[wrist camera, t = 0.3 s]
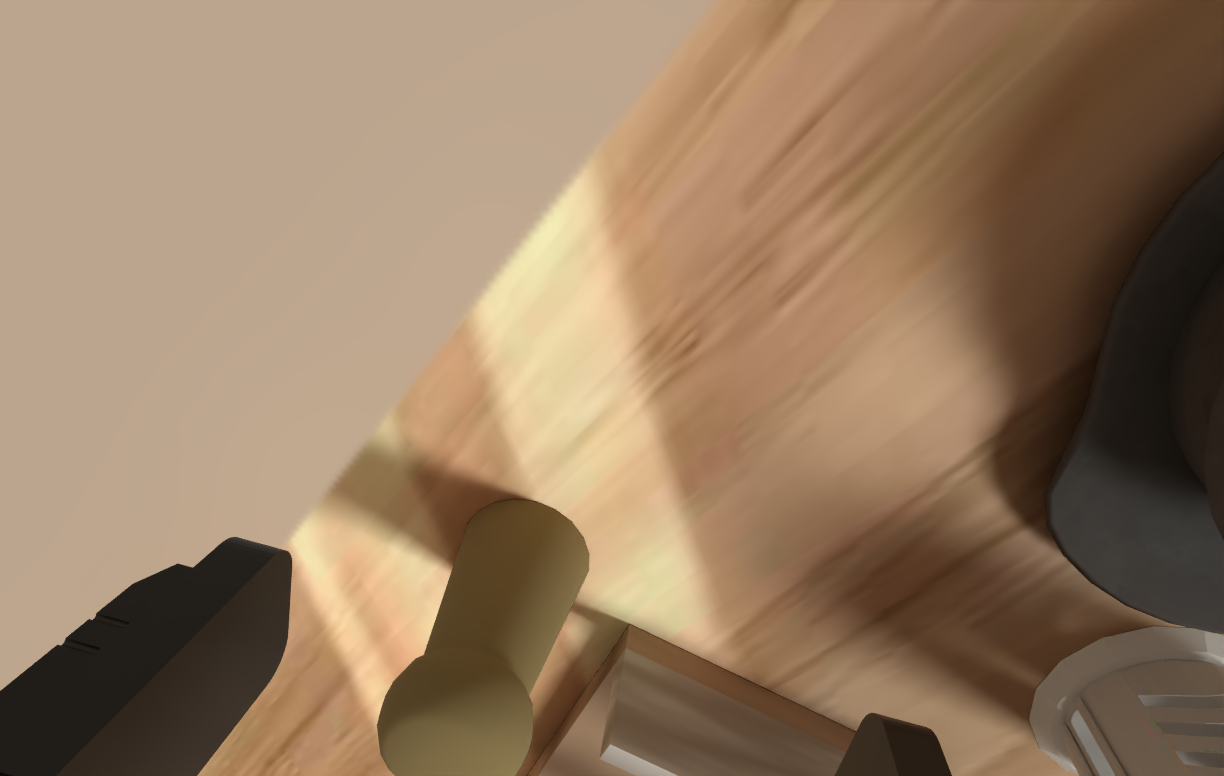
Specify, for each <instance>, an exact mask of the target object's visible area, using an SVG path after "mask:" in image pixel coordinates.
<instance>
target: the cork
mask: <svg viewBox="0 0 1224 776" xmlns="http://www.w3.org/2000/svg"><path fill="white" fill-rule="evenodd" d="M588 571H589V552H588V549H587V546H586V543H585V540H584V537H583V536H582V535H581V533H580V532H579V531H578V529H577V528H576V527H575V525H574V524H573V523H572V522H571V521H570V520H569V519H567V518H566V517H565V516H563V515H562V514H561V513H559V512H558V511H557V510H555V509H553V508H550V507H548V506H545V505H543V504H540V503H538V502H535V501H527V500H518V499H512V500H506V501H500V502H495V503H493V504H491V505H489V506H487V507H485V508H483V509H481V510H479V511H478V512H477V513H476V515H475V516H474V517H473V518H472V519H471V520H470V521H469V522H468V524H467V527H466V530H465V533H464V536H463V539H462V542H461V545H460V548H459V551H458V554H457V557H456V560H455V563H454V566H453V569H452V572H451V575H450V578H449V581H448V584H447V587H446V590H445V593H444V596H443V599H442V602H441V605H440V608H439V611H438V614H437V617H436V620H435V623H434V626H433V629H432V632H431V635H430V638H429V641H428V644H427V647H426V650H425V653H424V655H423V656H421V657H418V658H416V659H415V660H414V661H413V662H412V663H411V664H410V665H409V666H408V667H407V668H406V669H405V670H404V671H403V672H402V673H401V674H400V675H399V676H398V677H397V678H396V679H395V680H394V681H393V683H392V685H391V687H390V689H389V690H388V692H387V694H386V696H385V699H384V702H383V705H382V708H381V711H380V715H379V720H378V724H377V729H378V738H379V745H380V753H381V756H382V758H383V760H384V761H385V763H386V765H387V767H388V769H389V770H390V771H391V772H392V773H393V774H394V775H395V776H516V774H517V772H518V771H519V769H520V767H521V766H522V764H523V762H524V759H525V757H526V755H527V753H528V751H529V748H530V744H531V740H532V736H533V704H532V702H531V699H530V697H529V695H530V693H531V691H532V689H533V687H534V684H535V682H536V680H537V678H538V676H539V674H540V672H541V670H542V668H543V666H544V664H545V662H546V659H547V657H548V655H549V653H550V651H551V649H552V647H553V645H554V643H555V641H556V639H557V636H558V634H559V632H560V630H561V628H562V626H563V624H564V622H565V620H566V618H567V616H568V613H569V611H570V609H571V607H572V605H573V603H574V601H575V599H576V597H577V595H578V593H579V590H580V588H581V586H582V584H583V582H584V580H585V578H586V576H587V573H588Z"/></svg>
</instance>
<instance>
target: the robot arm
mask: <svg viewBox="0 0 1224 776" xmlns="http://www.w3.org/2000/svg"><path fill="white" fill-rule="evenodd" d="M291 576H292V558H291V555H290V553H289V552H288V551H286V550H282V549H278V548H275V547H271V546H267V545H263V544H260V543H256V542H252V541H249V540H245V539H242V538H238V537H232V538H229V539H227V540H225V541H224V542H222V543H221V544H220V545H219V546H217V547H216V548H215V549H214V550H213V551H212V552H211V553H209V554H208V555H207V556H206V557H205V558H204V559H203V560H201V561H200V562H199V563H198V564H197V565H196V566H195V567H193V568H192V567H188V566H184V565H181V564H176V565H174V566H171V567H169V568H167V569H165V570H163V571H160V572H158V573H156V574H154V575H152V576H150V577H147V578H145V579H143V580H140V581H138V582H136V583H134V584H132V585H131V586H130V587H128V588H127V589H126V590H125V591H124V592H122V593H121V594H120V595H119V596H117V597H116V598H115V599H113V600H112V601H111V602H110V603H108V604H107V605H106V606H105V607H104V608H102V609H101V610H100V611H99V612H97V614H96V617H95V618H94V619H93V620H90V619H89V620H87V621H86V622H85V623H84V624H83V625H81V626H80V627H79V628H78V629H76V630H75V631H74V632H73V633H71V634H70V635H69V636H68V637H66V640H65V642H64V643H63V644H62V645H61V646H60V645H57V646H55V647H54V648H53V649H52V650H50V651H49V652H48V653H47V654H45V655H44V656H43V657H42V658H41V659H39V660H38V661H37V662H35V663H34V664H33V665H32V666H31V667H29V668H28V669H27V670H26V671H24V672H23V673H22V674H21V675H19V676H18V677H17V678H16V679H15V680H13V681H12V682H11V683H10V684H8V685H7V686H6V687H5V688H3V689H2V690H1V691H0V776H197V775H198V774H199V772H200V771H201V770H202V769H203V767H204V766H205V765H206V763H207V762H208V761H209V760H210V758H211V757H212V756H213V754H214V753H215V752H216V751H217V749H218V748H219V747H220V745H221V744H222V743H223V742H224V740H225V739H226V738H227V736H228V735H229V734H230V733H231V731H232V730H233V729H234V727H235V726H236V725H237V723H238V722H239V721H240V720H241V718H242V717H243V716H244V714H245V713H246V712H247V711H248V709H249V708H250V707H251V705H252V704H253V703H254V702H255V700H256V699H257V698H258V696H259V695H260V694H261V693H262V691H263V690H264V689H265V687H266V686H267V685H268V683H269V682H270V680H271V679H272V677H273V676H274V674H275V672H276V670H277V668H278V666H279V664H280V662H281V659H282V657H283V654H284V651H285V647H286V644H287V639H288V627H289V610H290V593H291ZM835 776H952V775H951V772H950V769H949V767H948V764H947V762H946V759H945V756H944V754H943V751H942V749H941V746H940V743H939V741H938V739H937V737H936V735H935V734H934V732H933V731H932V730H931V729H929V728H927V727H923V726H920V725H916V724H912V723H909V722H905V721H901V720H898V719H894V718H890V717H887V716H883V715H879V714H876V713H870V714H868V715H866V716H865V718H864V719H863V720H862V722H861V724H860V726H859V728H858V730H857V732H856V734H855V736H854V738H853V740H852V742H851V744H850V746H849V748H848V750H847V752H846V754H845V756H844V758H843V760H842V762H841V764H840V766H839V768H838V770H837V772H836V774H835Z"/></svg>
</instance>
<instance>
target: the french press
mask: <svg viewBox="0 0 1224 776" xmlns="http://www.w3.org/2000/svg"><path fill="white" fill-rule="evenodd" d="M1029 722H1030V724H1031V727H1032V730H1033V732H1034V735H1035V738H1036V740H1037V743H1038V746H1039V748H1040V749H1041V750H1042V751H1044V752H1045V753H1046V754H1047V755H1048V756H1049V757H1051V758H1052V759H1053V760H1054V761H1055V762H1056V763H1058V764H1059V765H1060V766H1061V767H1062V768H1063V769H1065V770H1067V771H1069V772H1072V773H1075V774H1078V775H1079V776H1224V635H1221V634H1218V633H1212V632H1207V631H1203V630H1198V629H1194V628H1182V627H1157V626H1152V627H1147V628H1143V629H1138V630H1134V631H1130V632H1125V633H1121V634H1116V635H1112V636H1108V637H1103V638H1101V639H1099V640H1097V641H1095V642H1093V643H1092V644H1090V645H1088V646H1086V647H1084V648H1082V649H1081V650H1079V651H1077V652H1075V653H1073V654H1072V655H1070V656H1068V657H1066V658H1064V659H1062V660H1061V661H1060V662H1059V663H1058V664H1057V666H1056V667H1055V668H1054V669H1053V670H1052V671H1051V672H1050V674H1049V675H1048V676H1047V677H1046V678H1045V679H1044V680H1043V682H1042V683H1041V684H1040V685H1039V686H1038V687H1037V688H1036V691H1035V696H1034V700H1033V704H1032V708H1031V712H1030V717H1029Z"/></svg>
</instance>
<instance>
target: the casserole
mask: <svg viewBox="0 0 1224 776" xmlns="http://www.w3.org/2000/svg"><path fill="white" fill-rule="evenodd" d="M1045 508H1046V526H1047V527H1048V529H1049V531H1050V533H1051V535H1052V536H1053V538H1054V540H1055V542H1056V544H1057V545H1058V547H1059V549H1060V551H1061V552H1062V554H1063V555H1064V556H1065V557H1066V558H1067V559H1068V560H1069V561H1070V562H1071V563H1072V564H1073V565H1074V566H1075V567H1076V568H1077V569H1078V571H1079V572H1080V573H1081V574H1082V575H1083V576H1084V577H1085V578H1086V579H1087V580H1088V581H1089V582H1091V583H1092V584H1094V585H1095V586H1097V587H1098V588H1100V589H1101V590H1103V591H1104V592H1106V593H1107V594H1109V595H1111V596H1112V597H1114V598H1115V599H1117V600H1118V601H1120V602H1121V603H1123V604H1124V605H1126V606H1128V607H1131V608H1133V609H1136V610H1138V611H1141V612H1143V613H1146V614H1148V615H1151V616H1153V617H1156V618H1158V619H1161V620H1163V621H1166V622H1168V623H1172V624H1176V625H1181V626H1185V627H1189V628H1194V629H1198V630H1203V631H1207V632H1212V633H1219V634H1224V153H1223V154H1222V155H1221V156H1220V157H1219V158H1218V159H1217V160H1216V161H1215V162H1214V163H1213V164H1212V165H1211V166H1210V167H1209V168H1208V169H1207V170H1206V171H1205V172H1204V173H1203V174H1202V175H1201V176H1200V177H1198V178H1197V179H1196V180H1195V181H1194V182H1193V183H1192V184H1191V185H1190V186H1189V187H1188V188H1187V189H1186V190H1185V191H1184V192H1183V193H1182V194H1181V196H1180V197H1179V198H1178V200H1177V201H1176V202H1175V204H1174V205H1173V206H1172V208H1171V209H1170V211H1169V212H1168V213H1167V215H1166V216H1165V217H1164V219H1163V220H1162V221H1161V223H1160V224H1159V225H1158V227H1157V228H1156V230H1155V231H1154V232H1153V234H1152V235H1151V236H1150V238H1149V239H1148V240H1147V242H1146V243H1145V245H1144V246H1143V247H1142V249H1141V250H1140V251H1139V253H1138V255H1137V257H1136V259H1135V261H1134V263H1133V265H1132V267H1131V269H1130V271H1129V273H1128V275H1127V277H1126V279H1125V281H1124V283H1123V285H1122V287H1121V289H1120V291H1119V293H1118V295H1117V297H1116V299H1115V301H1114V303H1113V305H1112V308H1111V312H1110V316H1109V319H1108V323H1107V327H1106V331H1105V335H1104V338H1103V342H1102V346H1101V350H1100V354H1099V357H1098V361H1097V365H1096V369H1095V373H1094V377H1093V381H1092V385H1091V389H1090V393H1089V396H1088V400H1087V404H1086V408H1085V410H1084V412H1083V414H1082V417H1081V419H1080V421H1079V423H1078V425H1077V427H1076V429H1075V431H1074V433H1073V435H1072V437H1071V439H1070V441H1069V443H1068V446H1067V448H1066V450H1065V452H1064V454H1063V456H1062V458H1061V460H1060V462H1059V464H1058V466H1057V468H1056V470H1055V472H1054V475H1053V477H1052V479H1051V481H1050V483H1049V485H1048V487H1047V489H1046V491H1045Z"/></svg>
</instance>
